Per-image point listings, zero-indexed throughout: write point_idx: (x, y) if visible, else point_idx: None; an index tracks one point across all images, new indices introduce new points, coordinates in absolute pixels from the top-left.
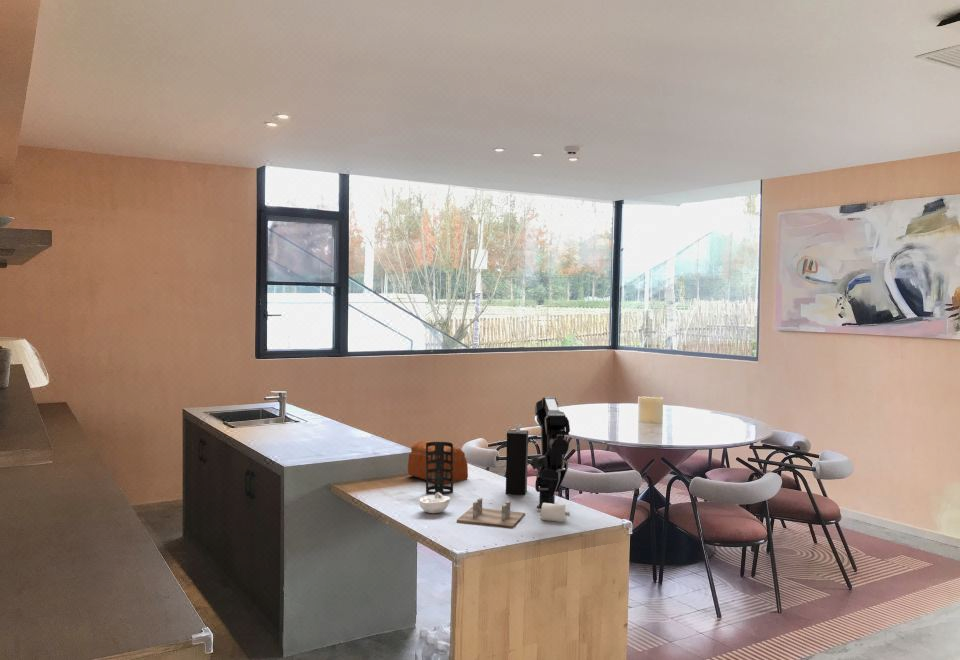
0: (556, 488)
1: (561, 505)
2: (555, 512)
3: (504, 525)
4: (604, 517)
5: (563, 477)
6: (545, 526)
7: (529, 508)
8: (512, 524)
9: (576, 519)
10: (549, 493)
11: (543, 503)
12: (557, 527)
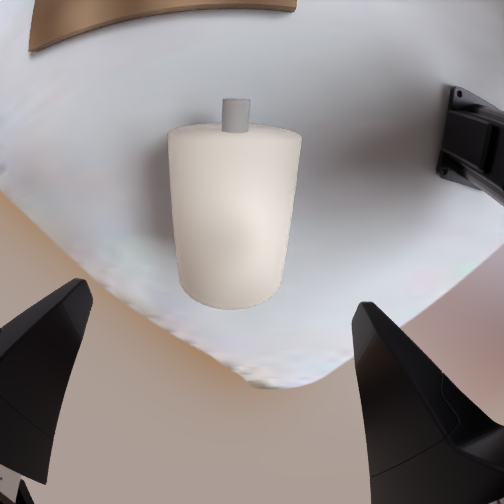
0: (361, 324)
1: (213, 288)
2: (174, 234)
3: (33, 16)
4: (341, 354)
5: (370, 470)
6: (120, 167)
7: (444, 47)
8: (44, 37)
9: (296, 285)
10: (50, 296)
11: (213, 150)
12: (133, 224)
